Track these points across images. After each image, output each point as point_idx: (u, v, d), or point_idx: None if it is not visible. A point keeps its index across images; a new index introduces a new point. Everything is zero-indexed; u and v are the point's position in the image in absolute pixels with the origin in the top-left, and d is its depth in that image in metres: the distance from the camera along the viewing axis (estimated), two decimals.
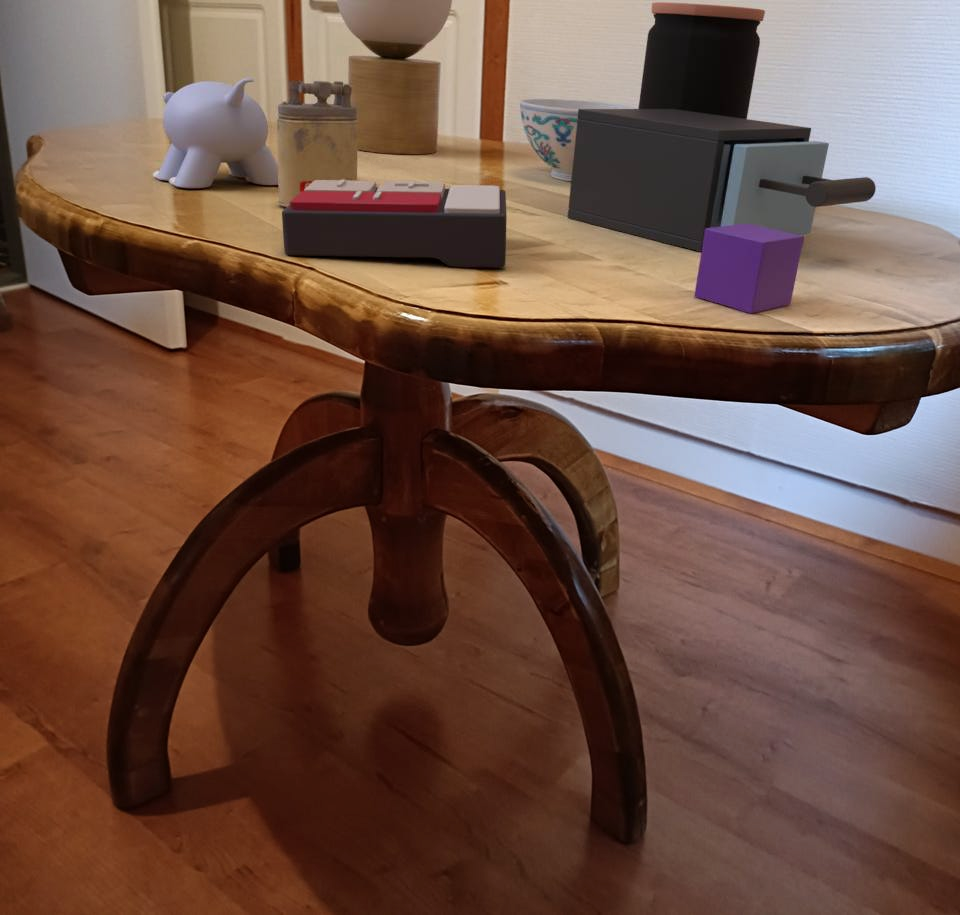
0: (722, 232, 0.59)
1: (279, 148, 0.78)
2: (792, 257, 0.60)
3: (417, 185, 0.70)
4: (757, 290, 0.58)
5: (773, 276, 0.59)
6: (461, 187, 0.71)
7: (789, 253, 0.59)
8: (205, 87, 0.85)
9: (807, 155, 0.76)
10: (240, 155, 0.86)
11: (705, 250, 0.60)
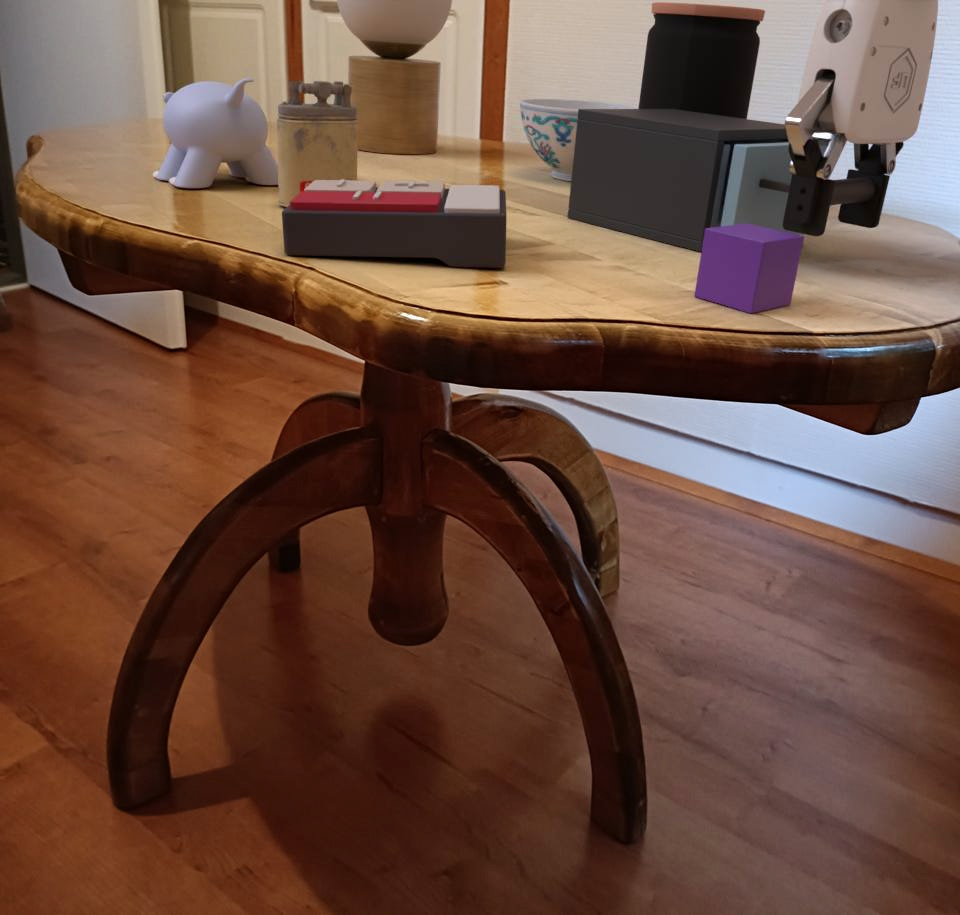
0: (722, 232, 0.59)
1: (279, 148, 0.78)
2: (792, 257, 0.60)
3: (417, 185, 0.70)
4: (757, 290, 0.58)
5: (773, 276, 0.59)
6: (461, 187, 0.71)
7: (789, 253, 0.59)
8: (205, 87, 0.85)
9: None
10: (240, 155, 0.86)
11: (705, 250, 0.60)
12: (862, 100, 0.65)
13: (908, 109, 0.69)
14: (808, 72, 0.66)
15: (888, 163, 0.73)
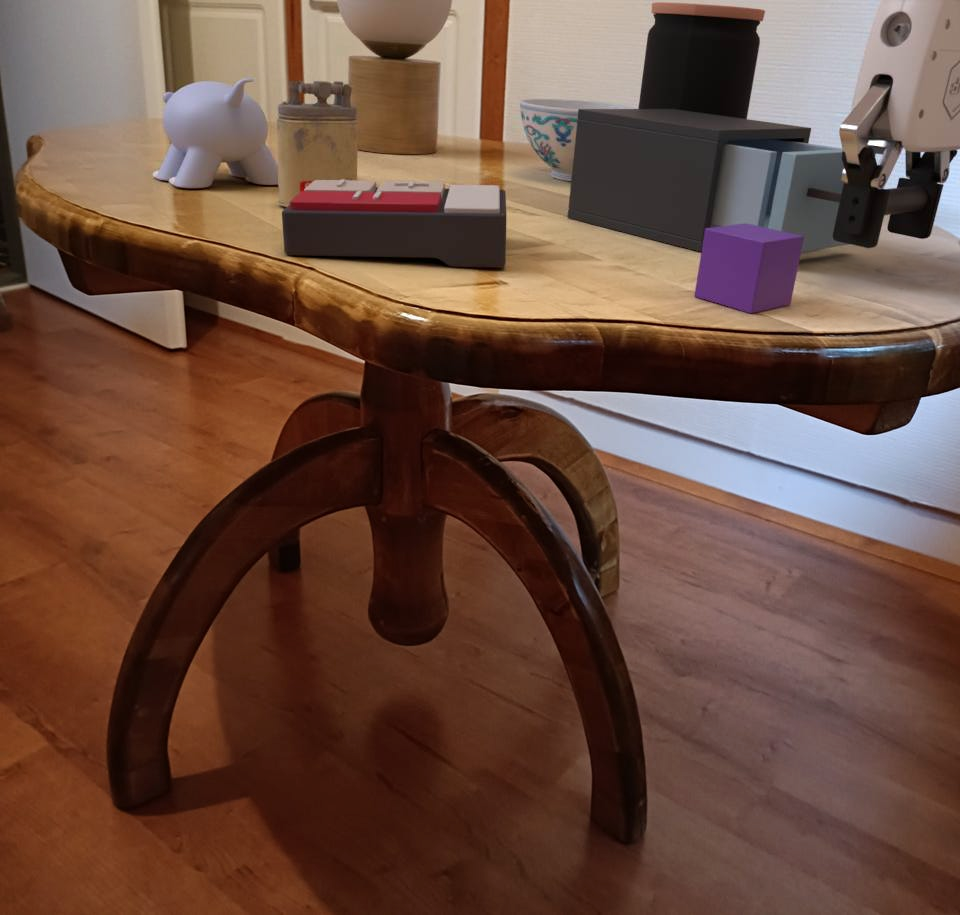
0: (722, 232, 0.59)
1: (279, 148, 0.78)
2: (792, 257, 0.60)
3: (417, 185, 0.70)
4: (757, 290, 0.58)
5: (773, 276, 0.59)
6: (461, 187, 0.71)
7: (789, 253, 0.59)
8: (204, 87, 0.85)
9: None
10: (239, 155, 0.86)
11: (705, 250, 0.60)
12: (921, 107, 0.62)
13: None
14: (863, 77, 0.64)
15: (942, 171, 0.70)
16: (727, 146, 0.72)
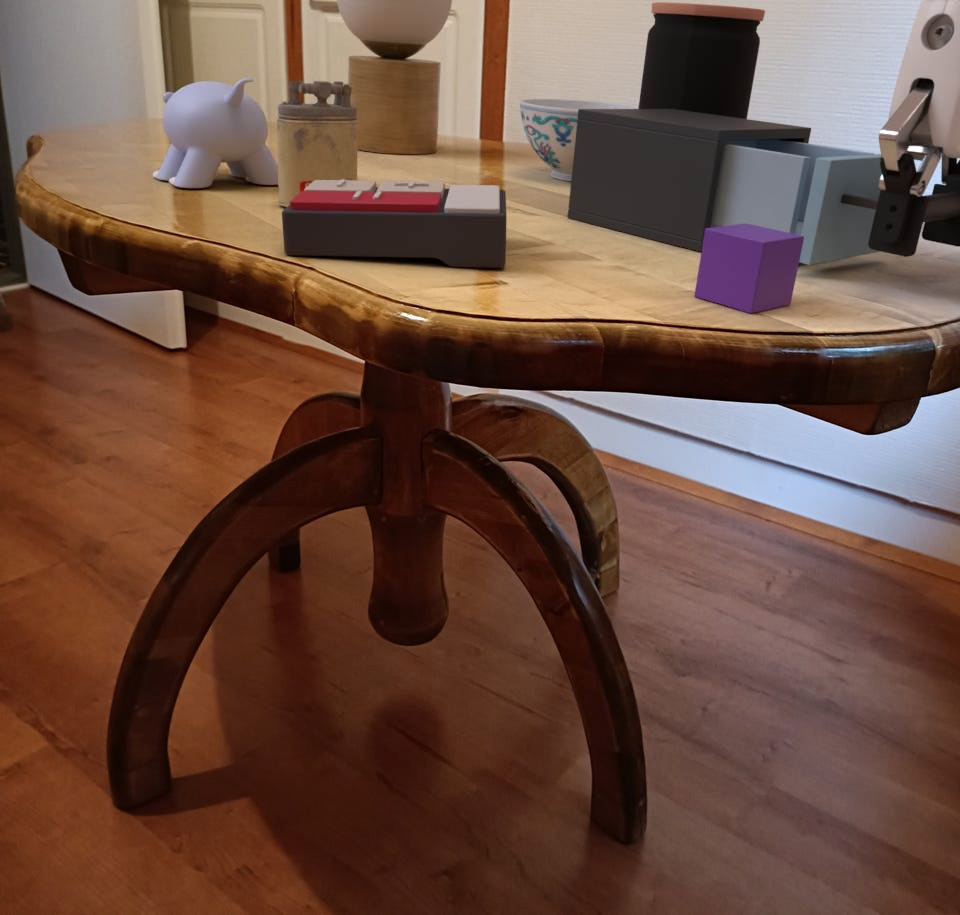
0: (722, 232, 0.59)
1: (279, 148, 0.78)
2: (792, 257, 0.60)
3: (417, 185, 0.70)
4: (757, 290, 0.58)
5: (773, 276, 0.59)
6: (461, 187, 0.71)
7: (789, 253, 0.59)
8: (204, 87, 0.85)
9: None
10: (239, 155, 0.86)
11: (705, 250, 0.60)
12: None
13: None
14: (902, 81, 0.62)
15: None
16: (758, 151, 0.71)
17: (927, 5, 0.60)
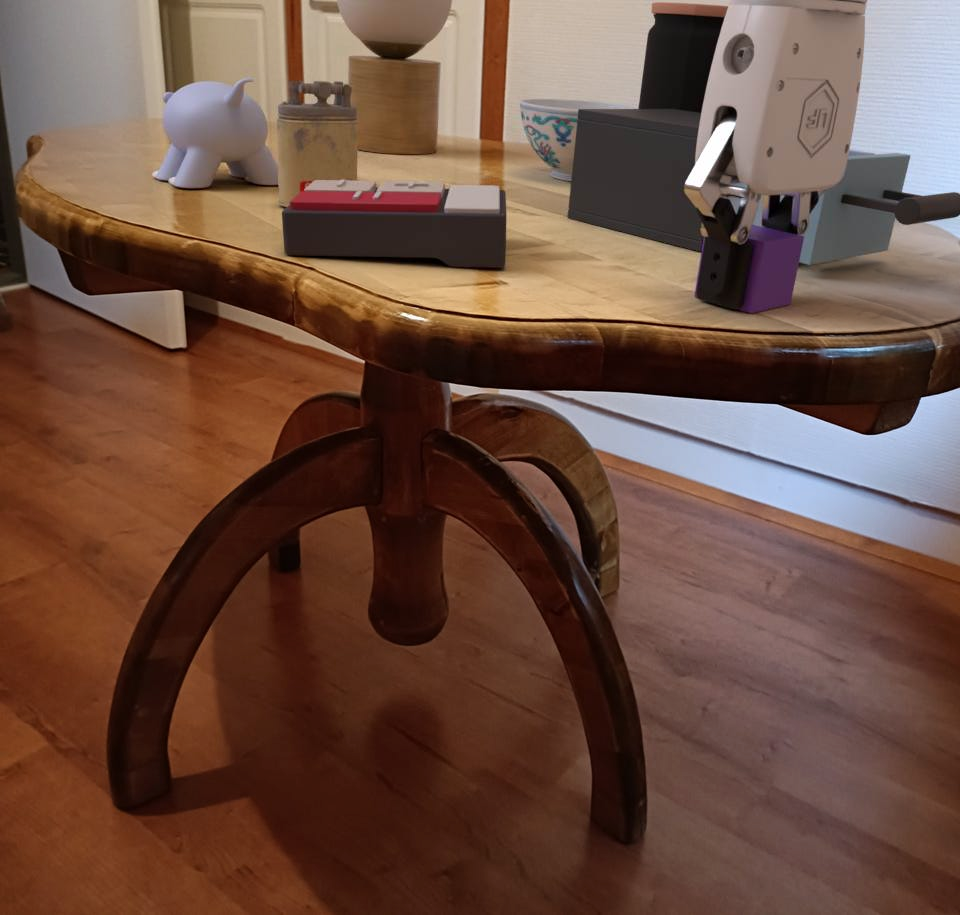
0: None
1: (279, 148, 0.78)
2: (792, 257, 0.60)
3: (417, 185, 0.70)
4: (757, 290, 0.58)
5: (773, 276, 0.59)
6: (461, 187, 0.71)
7: (789, 253, 0.59)
8: (204, 87, 0.85)
9: (888, 168, 0.71)
10: (239, 155, 0.86)
11: None
12: (769, 144, 0.53)
13: (831, 152, 0.57)
14: (706, 109, 0.55)
15: (800, 220, 0.60)
16: None
17: (728, 24, 0.53)
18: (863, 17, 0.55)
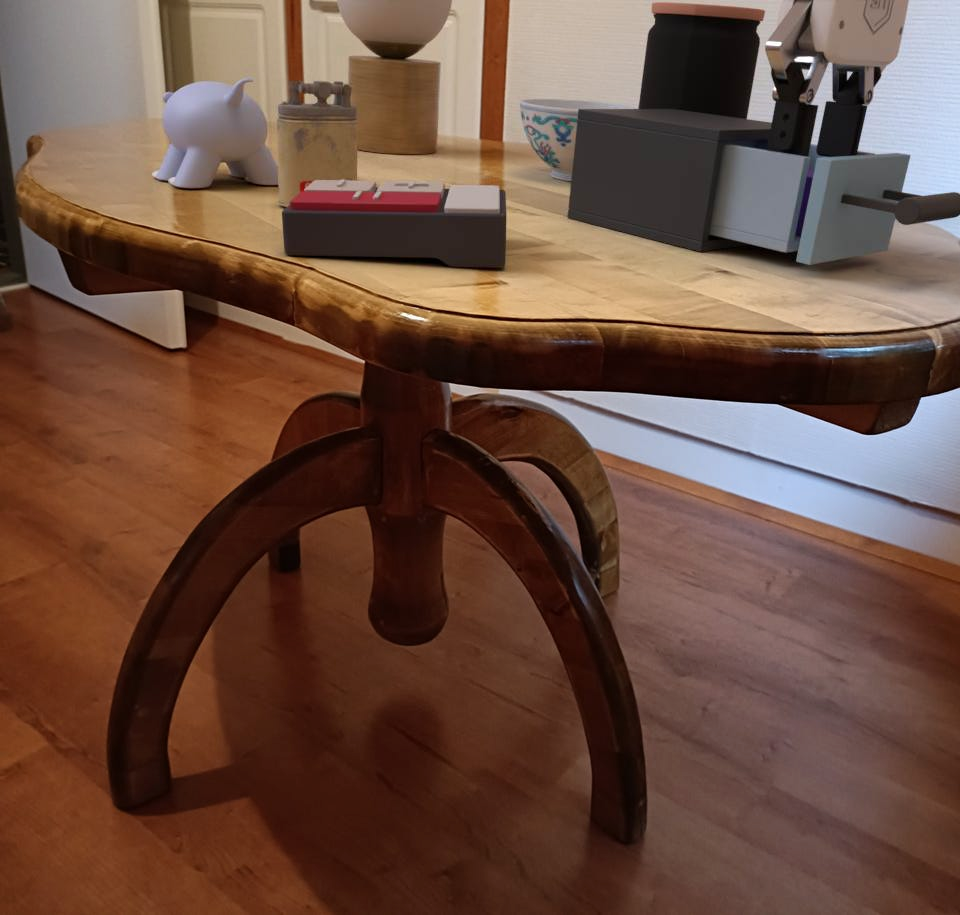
0: None
1: (279, 148, 0.78)
2: None
3: (417, 185, 0.70)
4: None
5: None
6: (461, 187, 0.71)
7: None
8: (204, 87, 0.85)
9: (888, 168, 0.71)
10: (239, 155, 0.86)
11: None
12: (841, 17, 0.64)
13: (888, 31, 0.69)
14: None
15: (866, 91, 0.72)
16: (758, 151, 0.71)
17: None
18: None
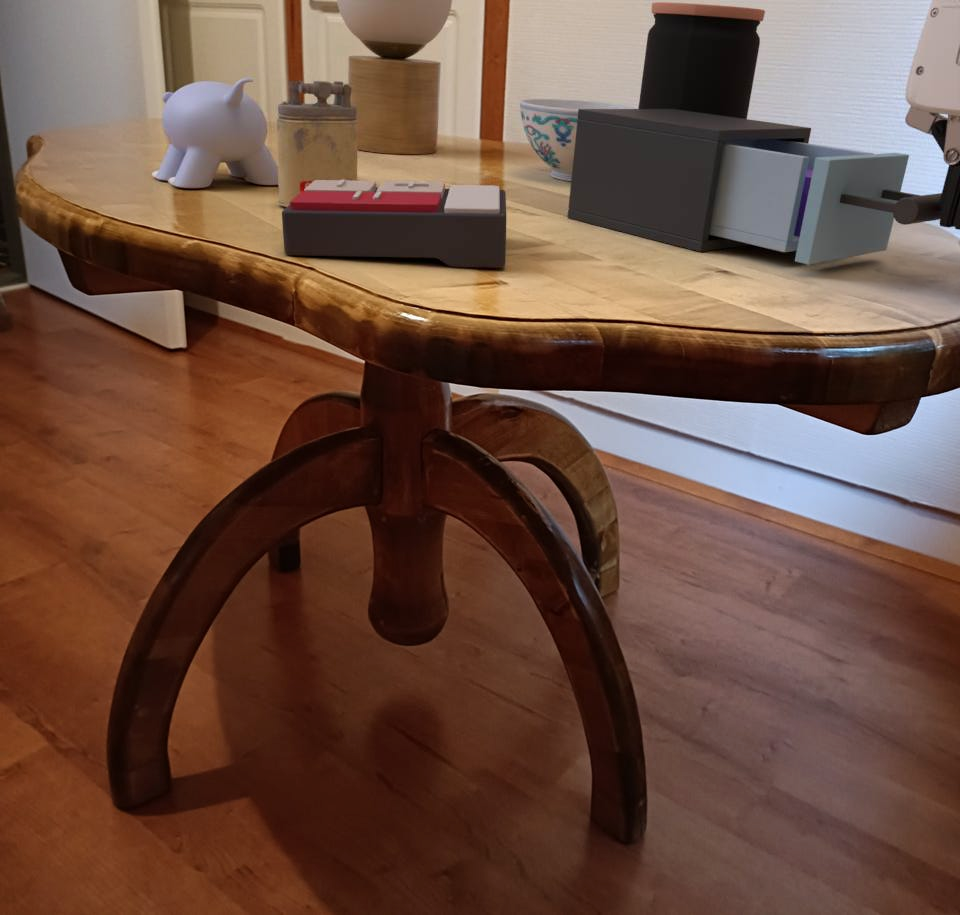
0: None
1: (279, 148, 0.78)
2: None
3: (417, 185, 0.70)
4: None
5: None
6: (461, 187, 0.71)
7: None
8: (204, 87, 0.85)
9: (887, 168, 0.71)
10: (239, 155, 0.86)
11: None
12: (919, 63, 0.63)
13: None
14: None
15: None
16: (757, 151, 0.71)
17: None
18: None
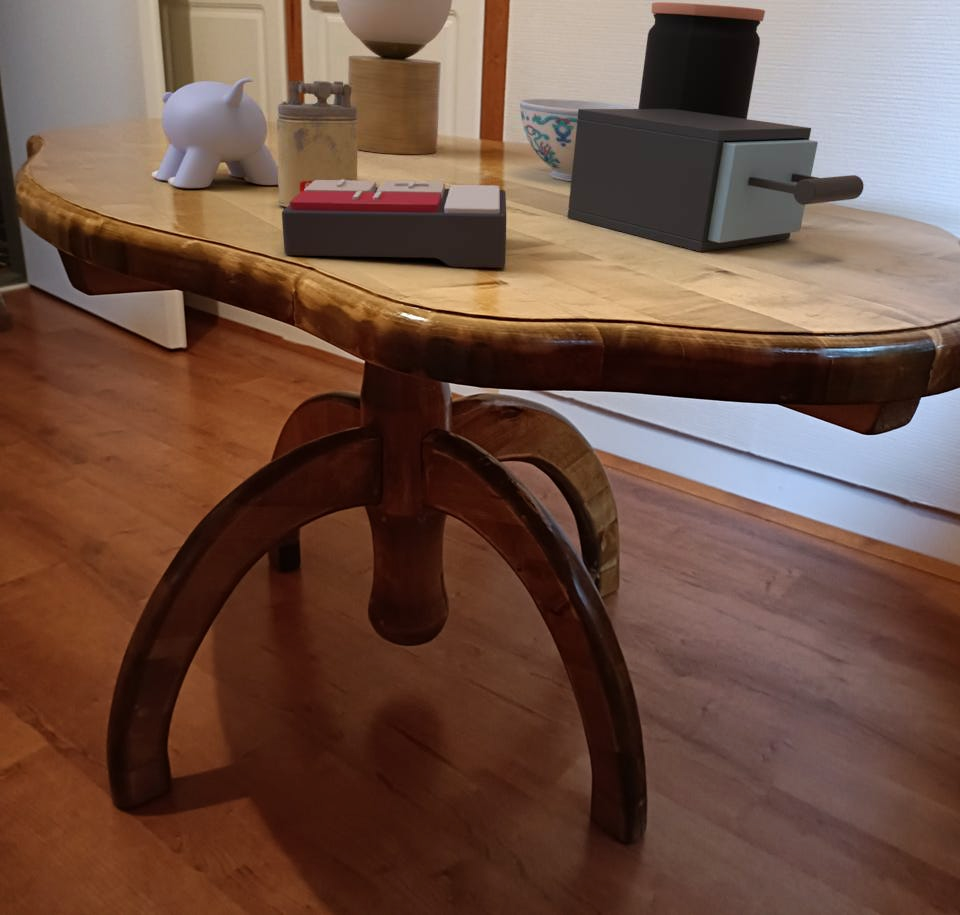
0: None
1: (279, 148, 0.78)
2: None
3: (417, 185, 0.70)
4: None
5: None
6: (461, 187, 0.71)
7: None
8: (203, 87, 0.85)
9: (795, 153, 0.77)
10: (239, 155, 0.86)
11: None
12: None
13: None
14: None
15: None
16: None
17: None
18: None
